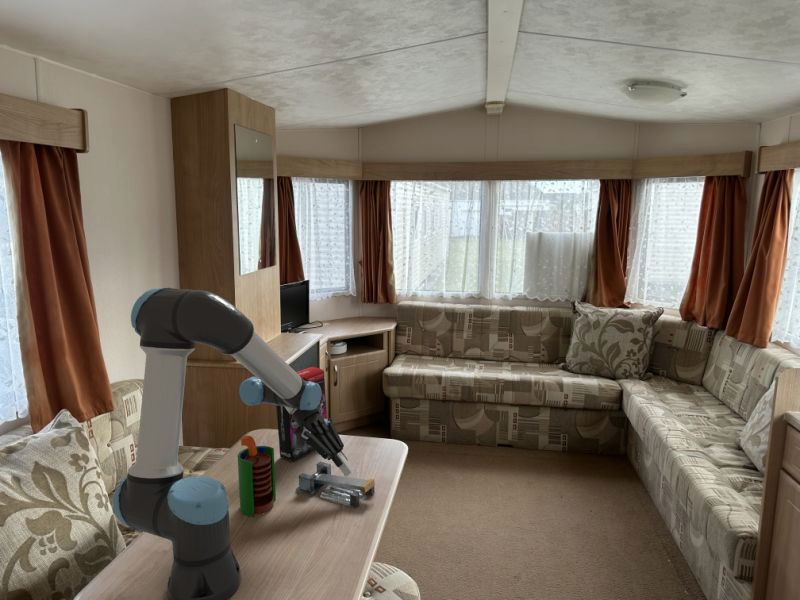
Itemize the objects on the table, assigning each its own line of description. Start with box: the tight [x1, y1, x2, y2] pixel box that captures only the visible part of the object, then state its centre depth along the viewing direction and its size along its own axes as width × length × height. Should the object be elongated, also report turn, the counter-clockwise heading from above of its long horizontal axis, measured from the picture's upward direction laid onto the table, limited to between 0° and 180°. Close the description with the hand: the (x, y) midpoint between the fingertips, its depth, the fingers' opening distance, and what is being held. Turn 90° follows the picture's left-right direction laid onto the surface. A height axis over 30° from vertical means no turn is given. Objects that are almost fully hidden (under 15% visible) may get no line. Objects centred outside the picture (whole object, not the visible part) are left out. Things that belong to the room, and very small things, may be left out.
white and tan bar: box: [310, 470, 376, 494], centre depth 161 cm, size 5×2×20 cm
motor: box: [237, 435, 277, 518], centre depth 153 cm, size 10×9×20 cm
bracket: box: [295, 461, 375, 509], centre depth 162 cm, size 11×20×5 cm, turn 61°
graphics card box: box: [275, 366, 328, 462], centre depth 187 cm, size 17×7×27 cm, turn 143°
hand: (350, 473), depth 159 cm, fingers closed
